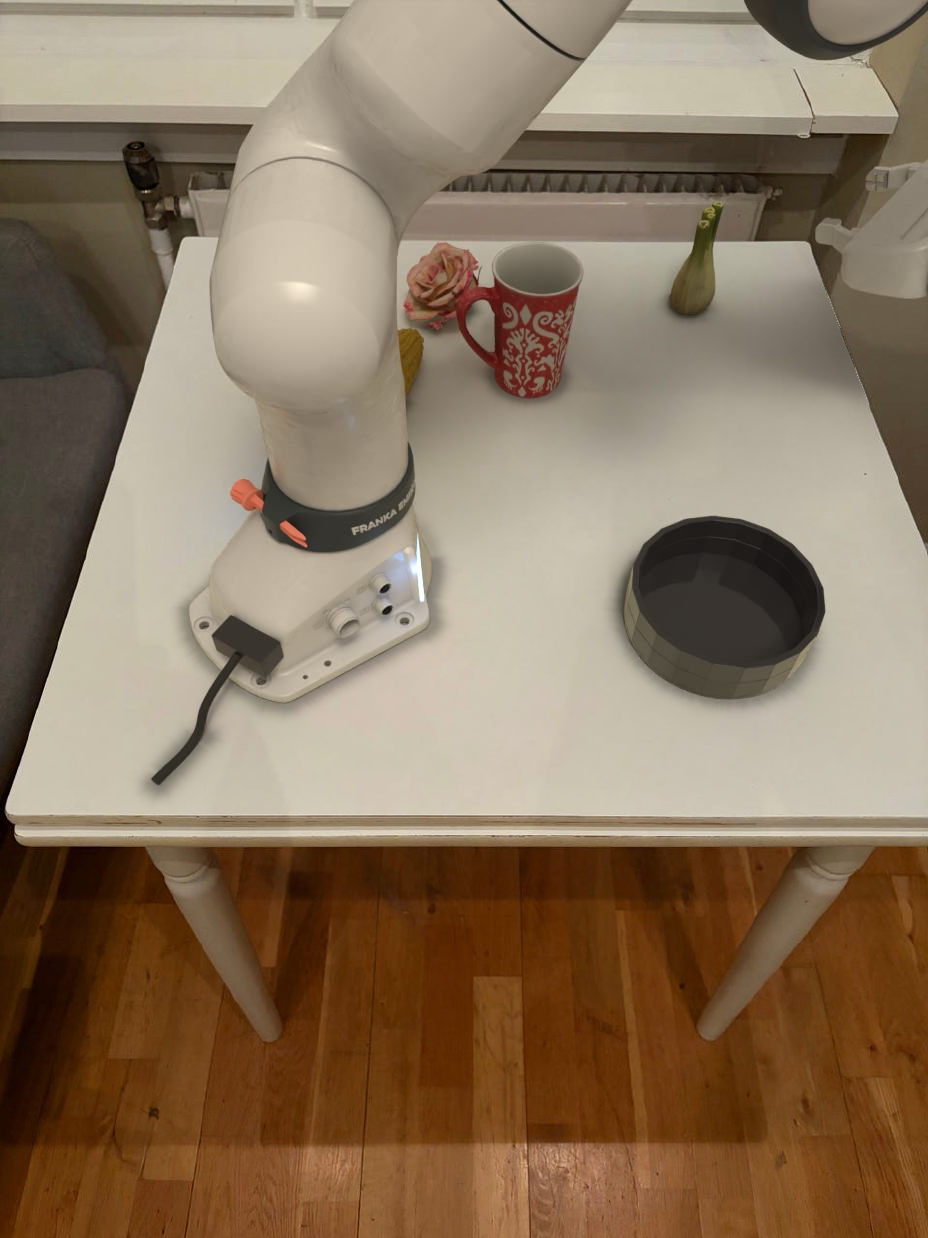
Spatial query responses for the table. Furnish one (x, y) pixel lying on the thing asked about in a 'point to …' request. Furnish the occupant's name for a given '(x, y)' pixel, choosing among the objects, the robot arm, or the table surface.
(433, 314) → the flower
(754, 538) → the pan
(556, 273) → the mug
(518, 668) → the table surface
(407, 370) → the food
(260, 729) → the table surface
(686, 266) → the fennel bulb
